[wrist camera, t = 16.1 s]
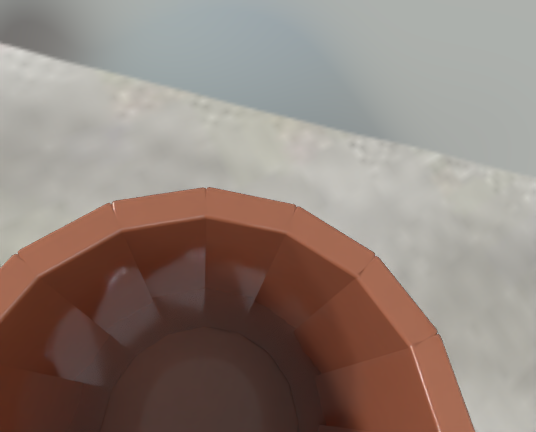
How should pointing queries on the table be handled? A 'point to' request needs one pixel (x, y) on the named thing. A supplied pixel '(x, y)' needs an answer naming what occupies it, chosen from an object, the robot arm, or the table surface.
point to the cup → (215, 326)
